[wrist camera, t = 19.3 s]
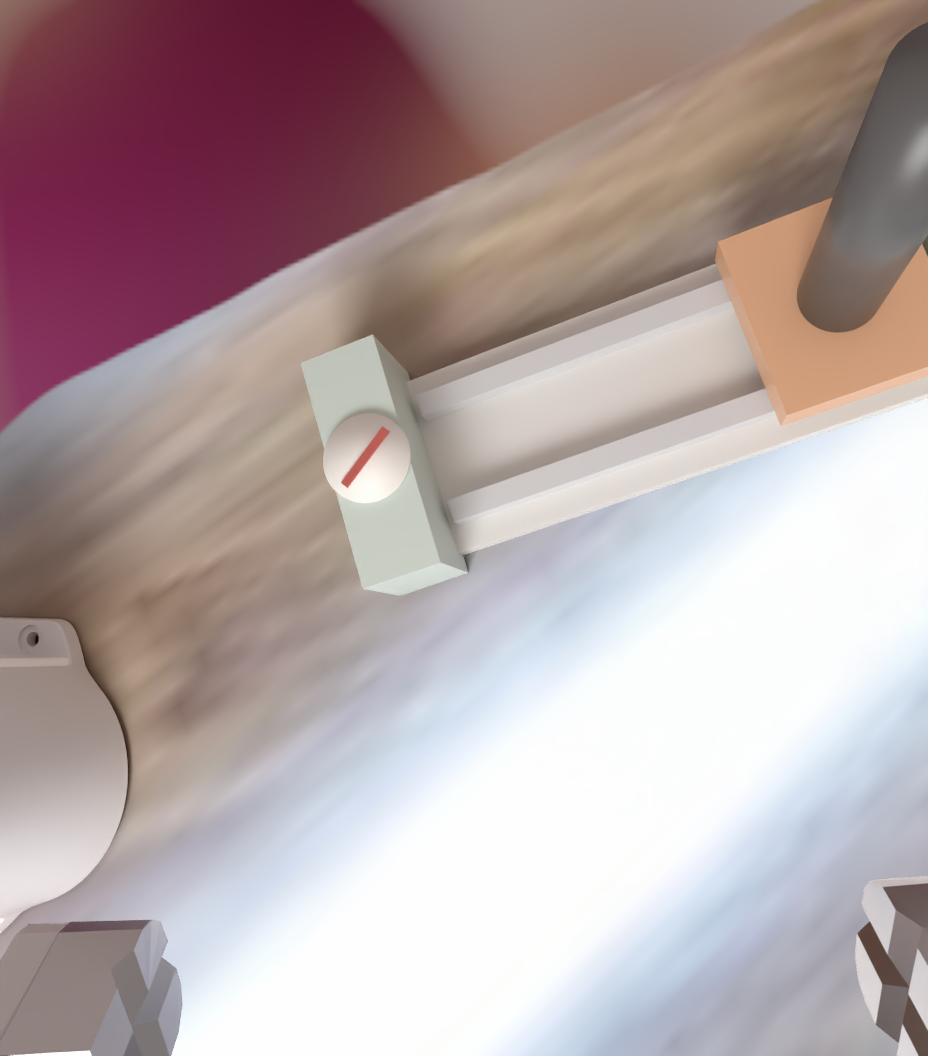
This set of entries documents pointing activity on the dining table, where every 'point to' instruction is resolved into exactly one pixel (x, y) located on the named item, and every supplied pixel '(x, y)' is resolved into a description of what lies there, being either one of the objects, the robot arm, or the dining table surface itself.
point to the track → (546, 427)
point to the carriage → (846, 263)
